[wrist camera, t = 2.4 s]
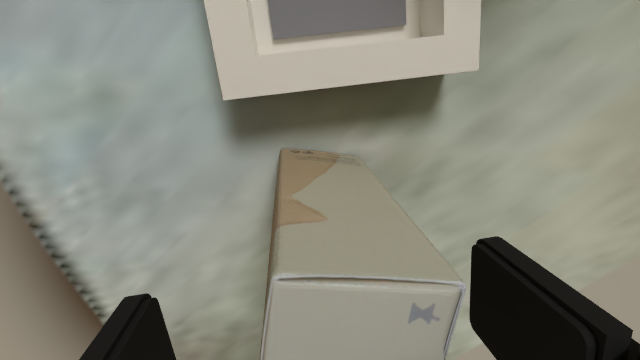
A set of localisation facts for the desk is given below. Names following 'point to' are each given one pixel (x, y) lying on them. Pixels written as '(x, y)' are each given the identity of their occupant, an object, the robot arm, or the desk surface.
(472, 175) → the desk surface
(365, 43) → the shallow square tray
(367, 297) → the box
